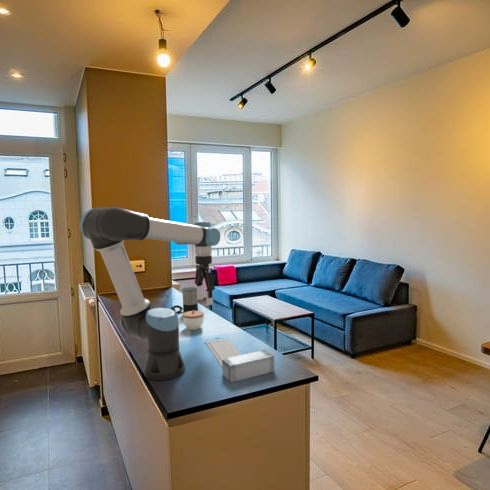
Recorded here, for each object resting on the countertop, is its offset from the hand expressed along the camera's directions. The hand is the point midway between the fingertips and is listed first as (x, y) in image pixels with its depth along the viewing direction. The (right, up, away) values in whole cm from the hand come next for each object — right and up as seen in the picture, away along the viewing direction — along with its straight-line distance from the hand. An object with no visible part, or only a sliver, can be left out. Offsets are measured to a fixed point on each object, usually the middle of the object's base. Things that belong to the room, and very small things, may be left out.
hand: (204, 302), depth 178 cm
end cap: (+20, -21, -35) cm, 46 cm away
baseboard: (+10, -20, -17) cm, 28 cm away
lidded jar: (-8, -17, +20) cm, 27 cm away
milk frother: (-17, -14, +49) cm, 54 cm away
